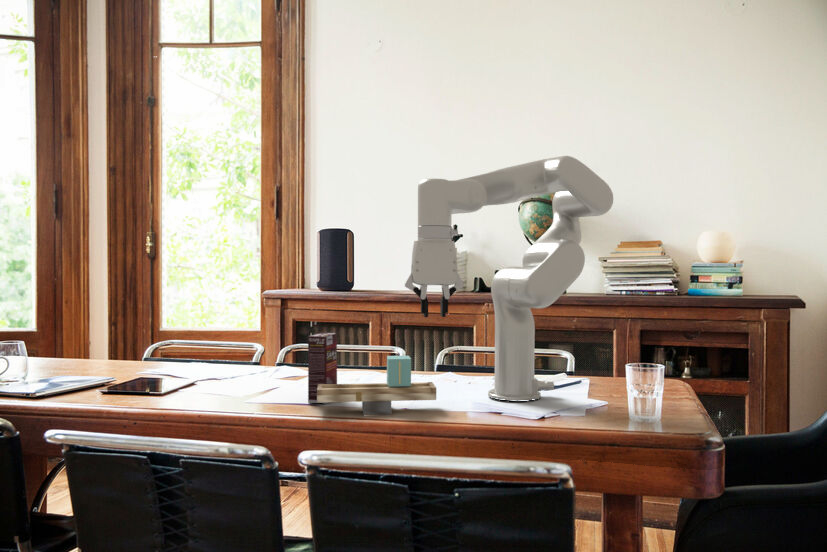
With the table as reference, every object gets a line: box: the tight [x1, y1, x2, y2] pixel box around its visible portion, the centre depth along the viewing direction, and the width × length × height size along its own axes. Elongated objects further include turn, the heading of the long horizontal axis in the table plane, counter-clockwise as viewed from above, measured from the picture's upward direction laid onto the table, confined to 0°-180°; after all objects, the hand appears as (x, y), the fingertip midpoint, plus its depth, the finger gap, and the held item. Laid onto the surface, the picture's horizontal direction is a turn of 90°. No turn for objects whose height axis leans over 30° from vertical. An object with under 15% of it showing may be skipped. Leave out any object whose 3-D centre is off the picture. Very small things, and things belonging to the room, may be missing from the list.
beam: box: [317, 381, 437, 416], centre depth 156 cm, size 26×9×6 cm, turn 96°
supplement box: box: [307, 332, 338, 405], centre depth 167 cm, size 9×5×16 cm, turn 168°
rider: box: [386, 355, 412, 387], centre depth 156 cm, size 5×5×7 cm
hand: (434, 315), depth 157 cm, fingers open, 3 cm apart
